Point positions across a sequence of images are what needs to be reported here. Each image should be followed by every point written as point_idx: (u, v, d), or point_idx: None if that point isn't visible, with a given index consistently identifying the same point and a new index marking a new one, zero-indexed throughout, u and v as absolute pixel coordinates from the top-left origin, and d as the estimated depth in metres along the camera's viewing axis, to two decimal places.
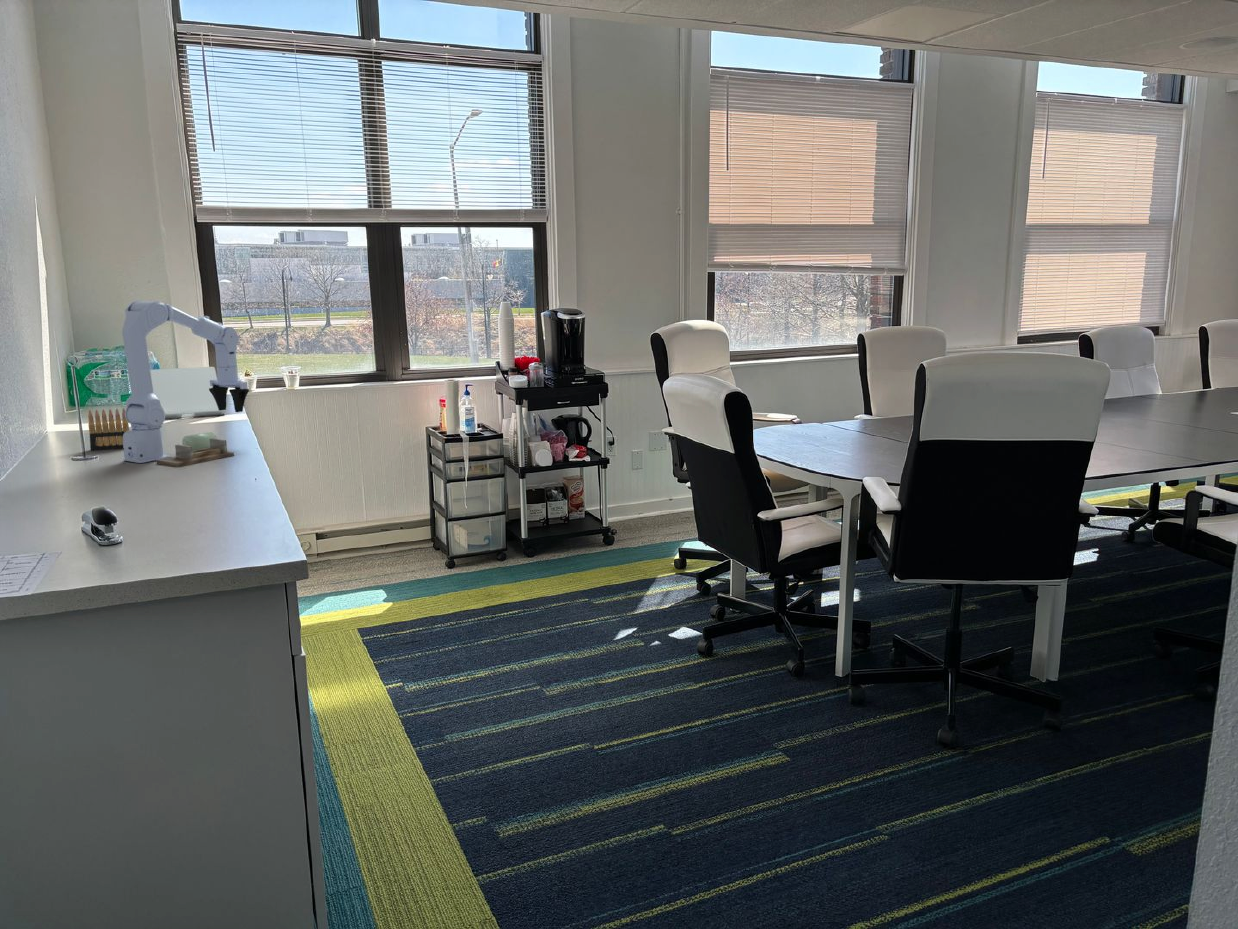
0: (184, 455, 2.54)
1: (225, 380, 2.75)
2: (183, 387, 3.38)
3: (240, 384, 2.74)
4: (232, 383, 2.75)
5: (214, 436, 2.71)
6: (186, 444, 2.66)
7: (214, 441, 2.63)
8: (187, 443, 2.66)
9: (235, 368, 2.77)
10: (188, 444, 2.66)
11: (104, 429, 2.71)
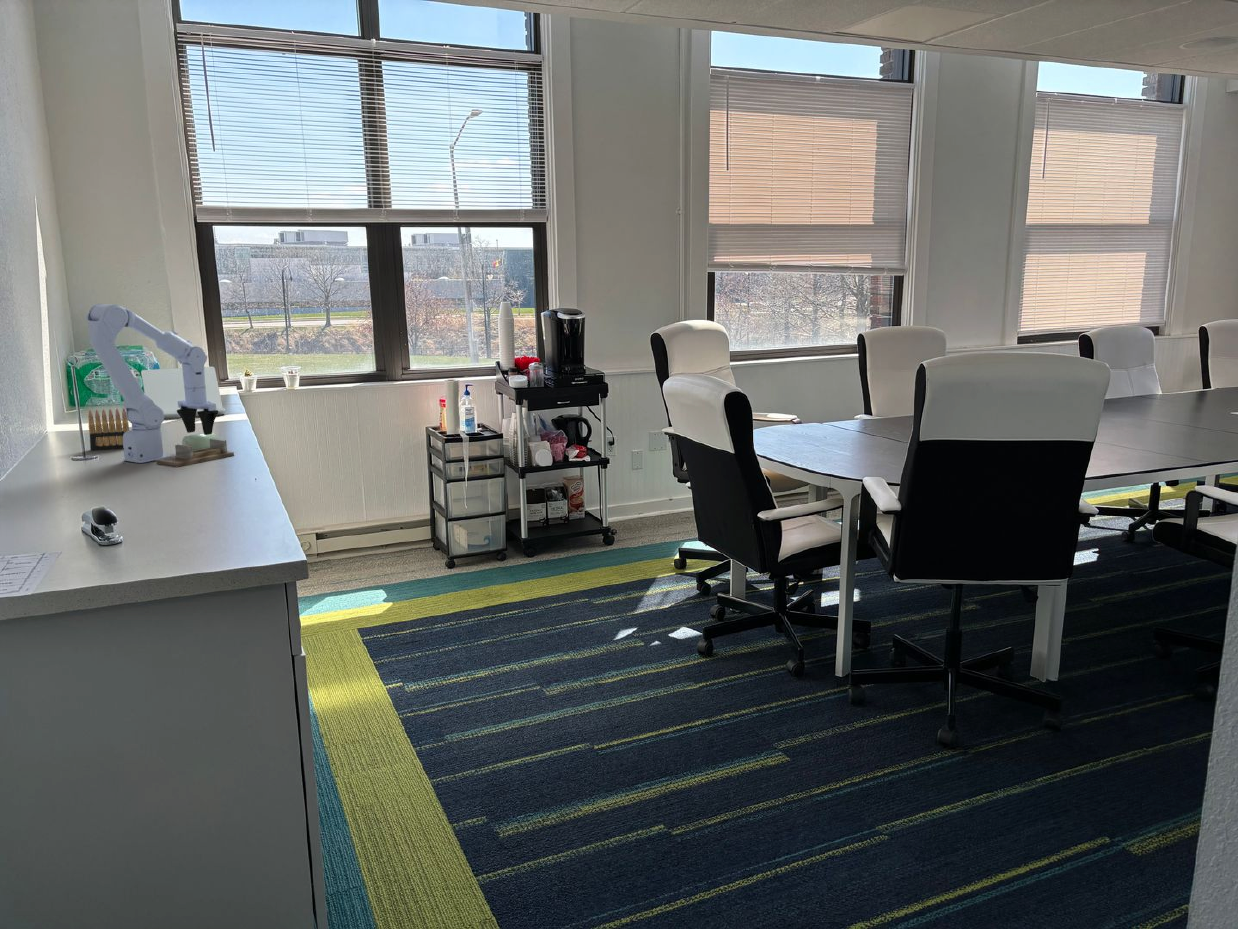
0: (184, 455, 2.54)
1: (193, 402, 2.64)
2: (183, 387, 3.38)
3: (208, 406, 2.63)
4: (200, 405, 2.64)
5: (214, 436, 2.71)
6: (186, 444, 2.67)
7: (214, 441, 2.63)
8: (187, 443, 2.66)
9: (203, 389, 2.66)
10: (188, 444, 2.66)
11: (104, 429, 2.71)
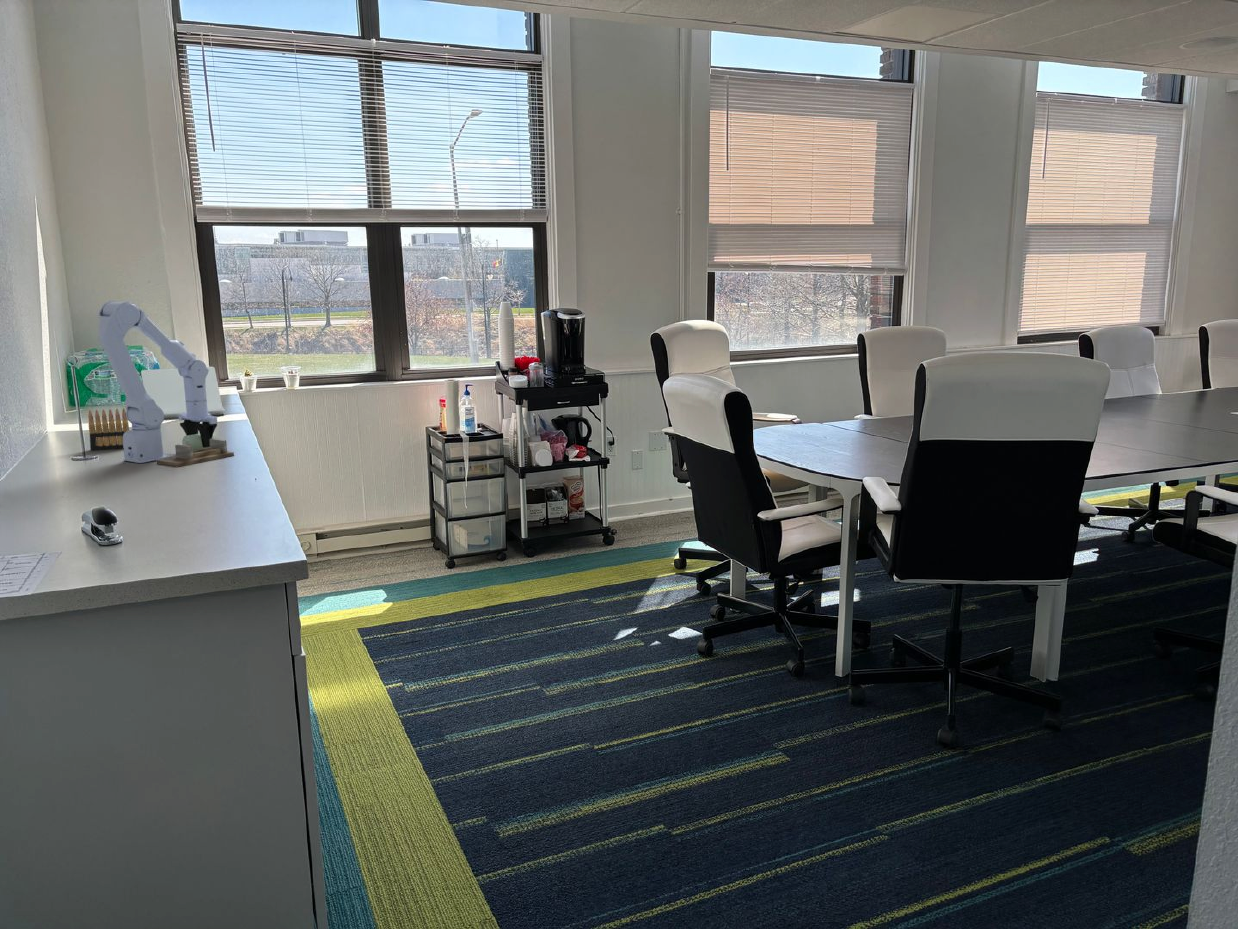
0: (184, 455, 2.54)
1: (194, 415, 2.65)
2: (183, 387, 3.38)
3: (209, 419, 2.64)
4: (201, 418, 2.65)
5: (214, 436, 2.71)
6: (186, 444, 2.66)
7: (214, 441, 2.63)
8: (187, 443, 2.66)
9: (205, 402, 2.67)
10: (188, 443, 2.66)
11: (104, 429, 2.71)
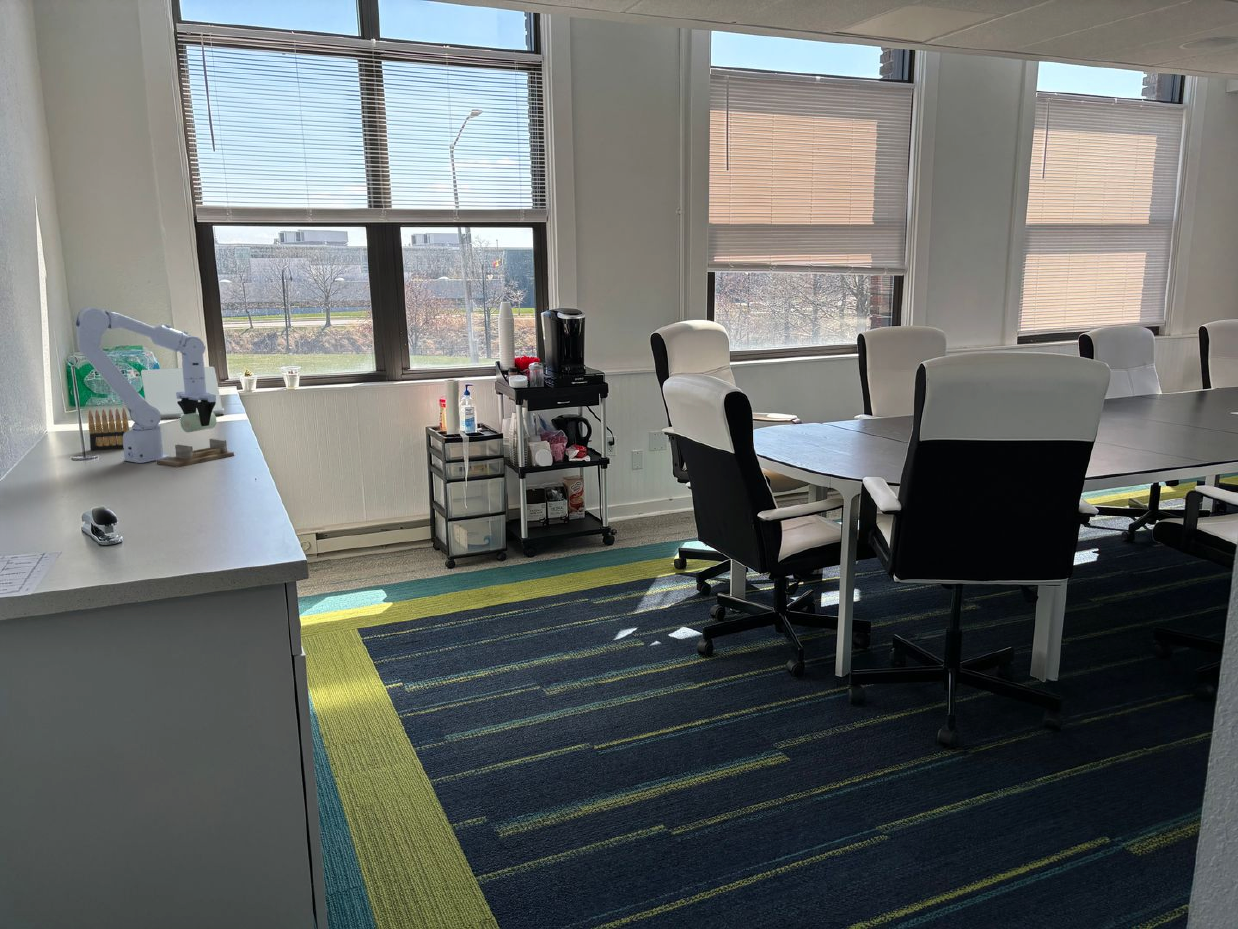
0: (184, 455, 2.54)
1: (192, 392, 2.60)
2: (183, 387, 3.38)
3: (208, 397, 2.59)
4: (200, 396, 2.60)
5: (213, 415, 2.66)
6: (184, 423, 2.61)
7: (214, 441, 2.63)
8: (185, 422, 2.61)
9: (203, 380, 2.62)
10: (187, 422, 2.61)
11: (104, 429, 2.71)
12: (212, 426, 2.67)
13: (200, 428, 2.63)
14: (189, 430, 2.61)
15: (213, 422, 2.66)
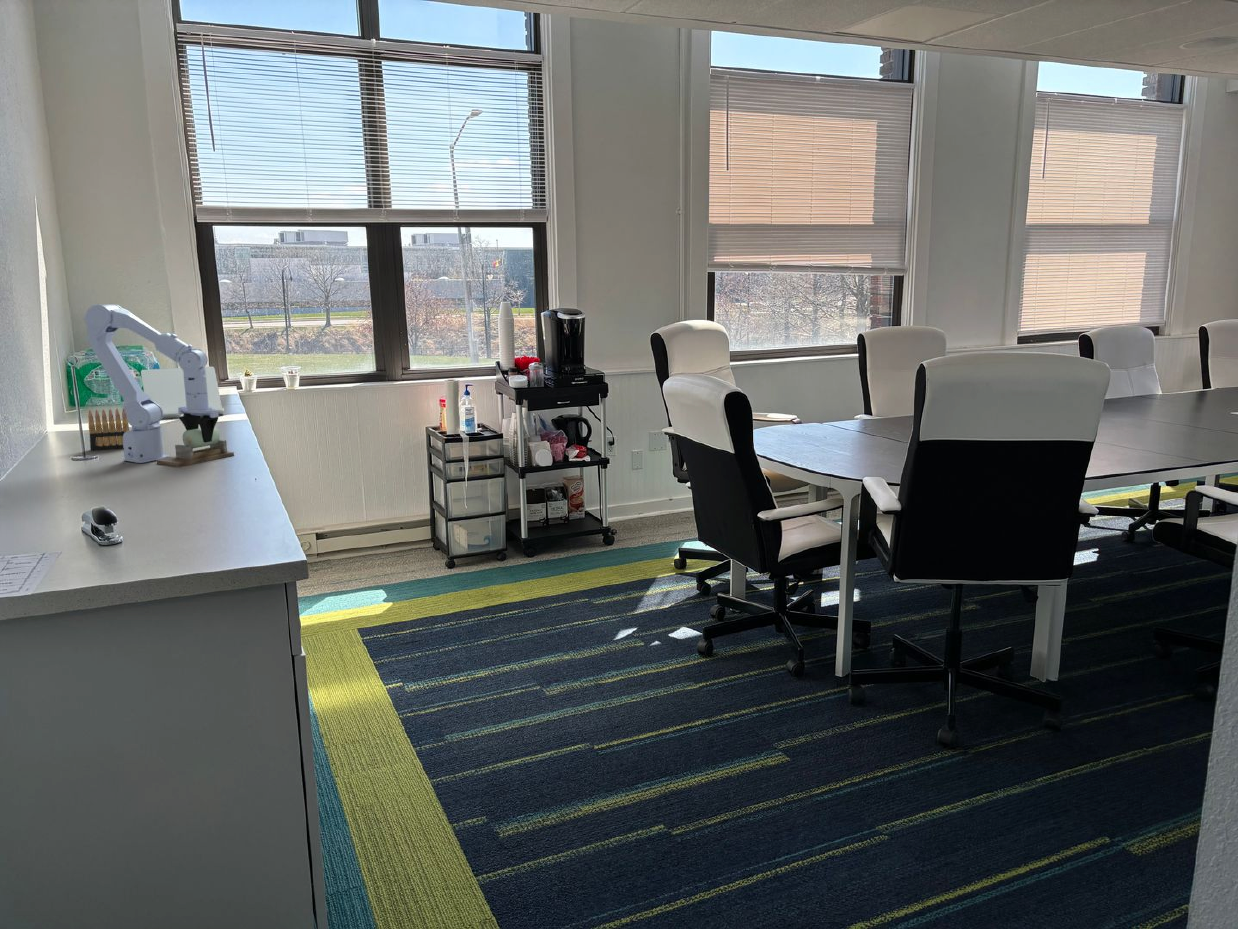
0: (184, 455, 2.54)
1: (194, 408, 2.54)
2: (183, 387, 3.38)
3: (210, 412, 2.53)
4: (202, 411, 2.53)
5: (216, 431, 2.60)
6: (187, 439, 2.55)
7: None
8: (188, 438, 2.55)
9: (205, 395, 2.55)
10: (189, 439, 2.55)
11: (104, 429, 2.71)
12: (215, 442, 2.60)
13: (203, 444, 2.57)
14: None
15: (216, 438, 2.60)
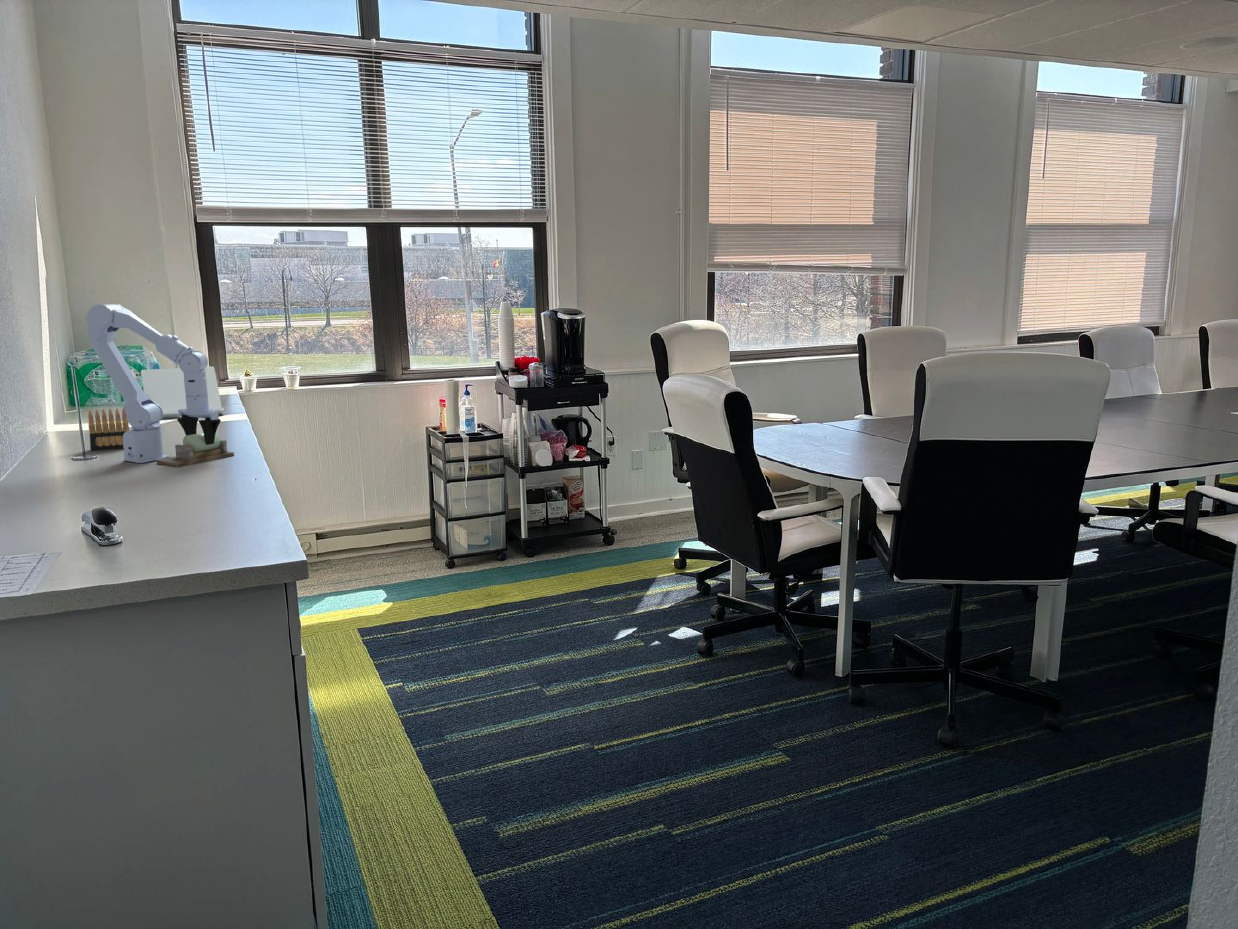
0: (184, 455, 2.54)
1: (194, 410, 2.54)
2: (183, 387, 3.39)
3: (211, 415, 2.53)
4: (202, 413, 2.53)
5: (216, 436, 2.60)
6: (187, 444, 2.55)
7: None
8: (188, 443, 2.55)
9: (205, 397, 2.55)
10: (189, 443, 2.55)
11: (104, 429, 2.71)
12: (215, 447, 2.61)
13: (203, 449, 2.57)
14: None
15: (216, 443, 2.60)
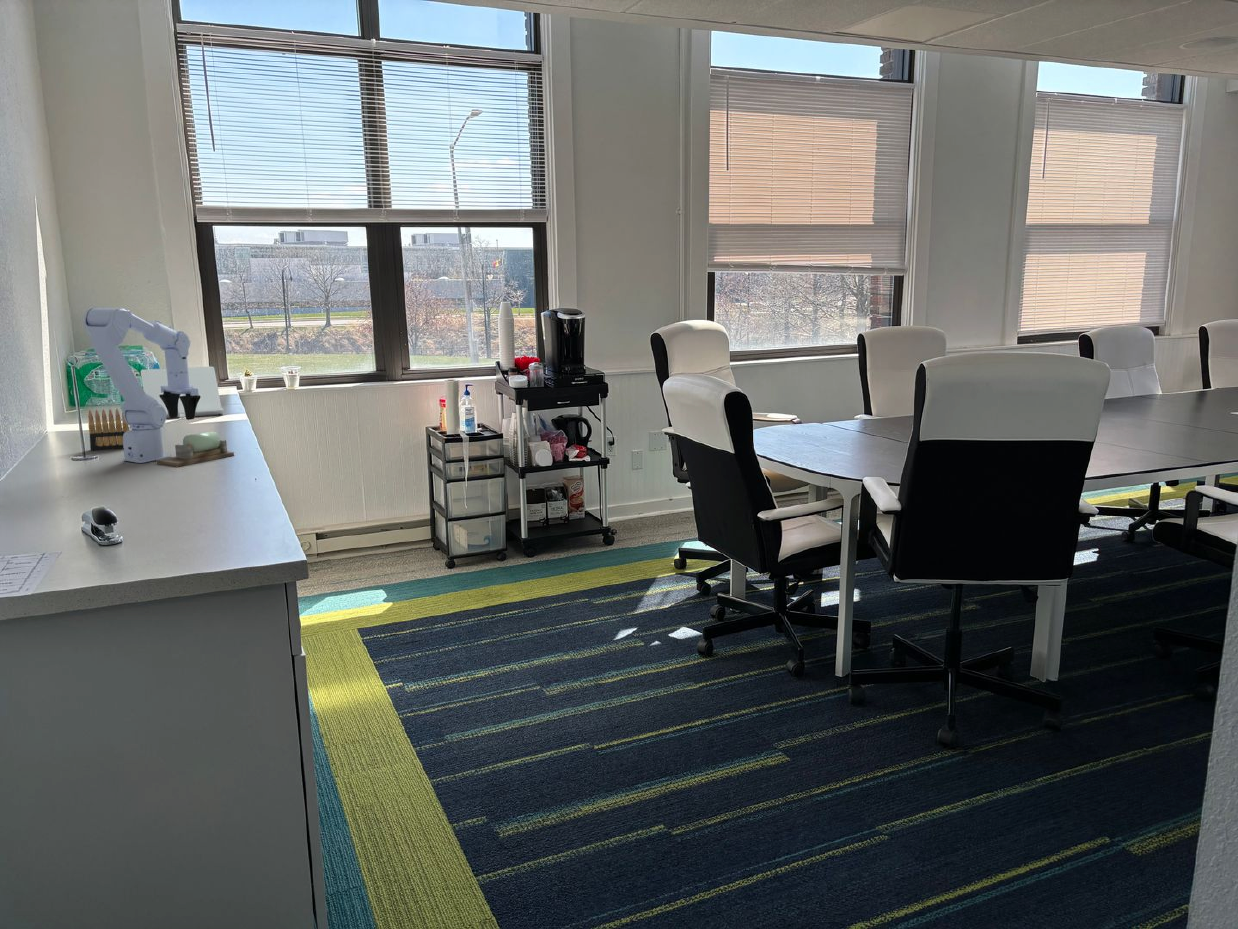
0: (184, 455, 2.54)
1: (175, 386, 2.65)
2: None
3: (190, 391, 2.64)
4: (182, 389, 2.65)
5: (216, 436, 2.60)
6: (187, 444, 2.55)
7: None
8: (188, 443, 2.55)
9: (186, 374, 2.67)
10: (189, 443, 2.55)
11: (104, 429, 2.71)
12: (215, 447, 2.61)
13: (203, 449, 2.57)
14: None
15: (216, 443, 2.60)
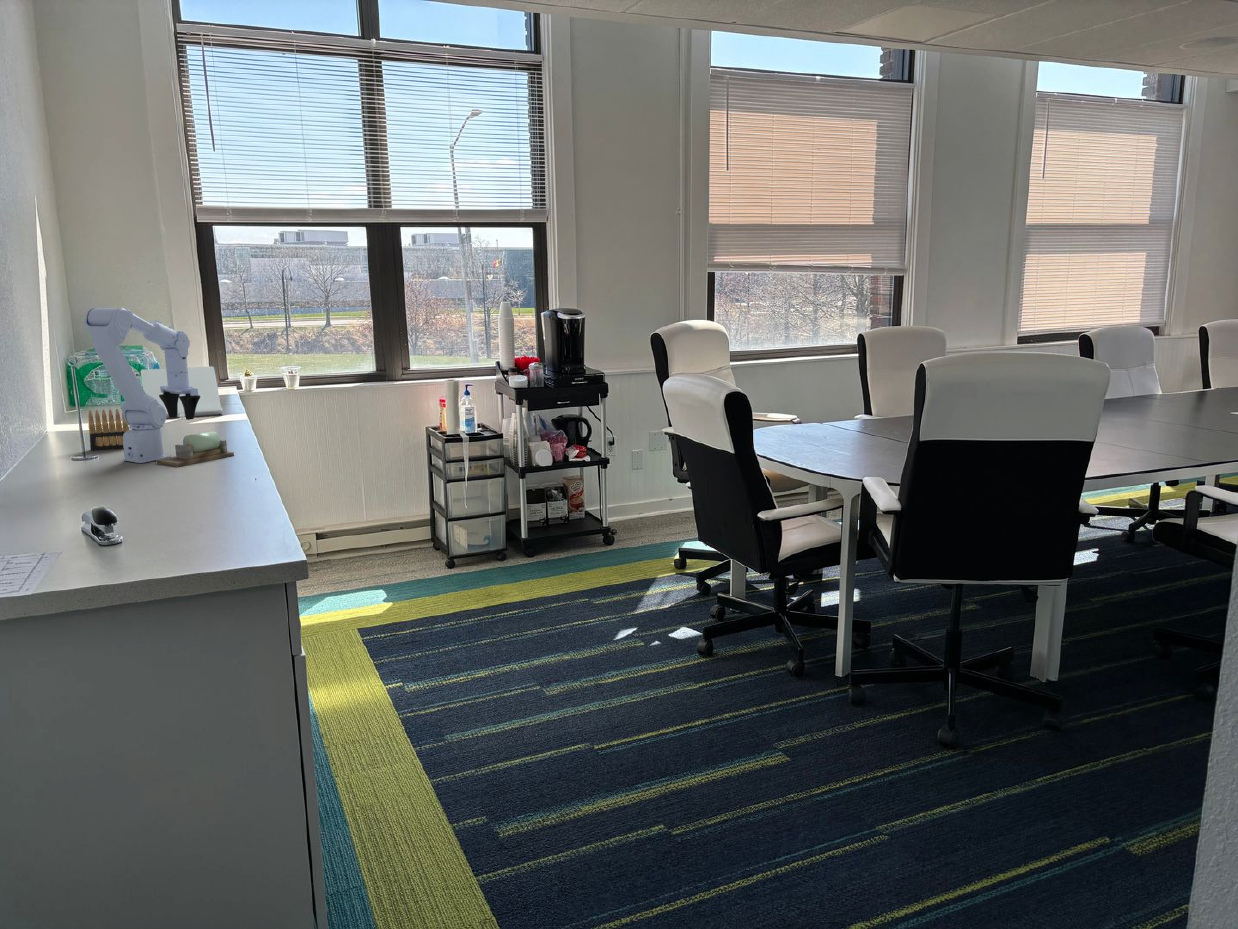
0: (184, 455, 2.54)
1: (175, 386, 2.65)
2: None
3: (190, 391, 2.64)
4: (182, 389, 2.65)
5: (216, 436, 2.60)
6: (187, 444, 2.55)
7: None
8: (188, 443, 2.55)
9: (186, 374, 2.67)
10: (189, 443, 2.55)
11: (104, 429, 2.71)
12: (215, 447, 2.61)
13: (203, 449, 2.57)
14: None
15: (216, 443, 2.60)
